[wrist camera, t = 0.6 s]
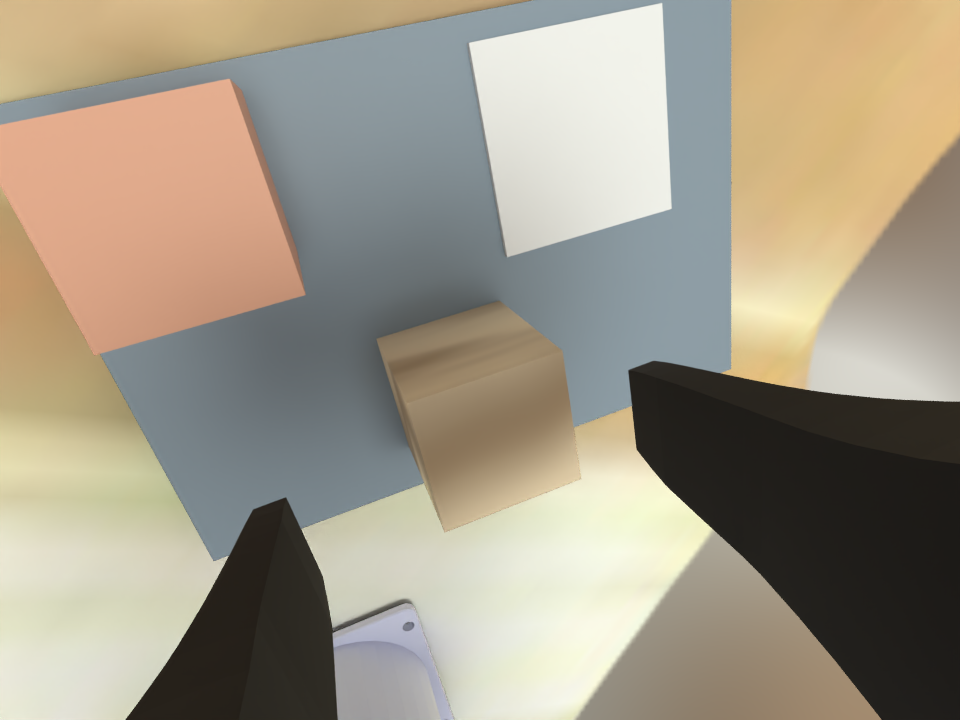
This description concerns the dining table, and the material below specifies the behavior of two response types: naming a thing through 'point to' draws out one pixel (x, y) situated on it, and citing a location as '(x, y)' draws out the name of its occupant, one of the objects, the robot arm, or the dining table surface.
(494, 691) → the dining table surface
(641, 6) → the build board
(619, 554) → the dining table surface
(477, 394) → the maple block
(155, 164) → the terracotta block
